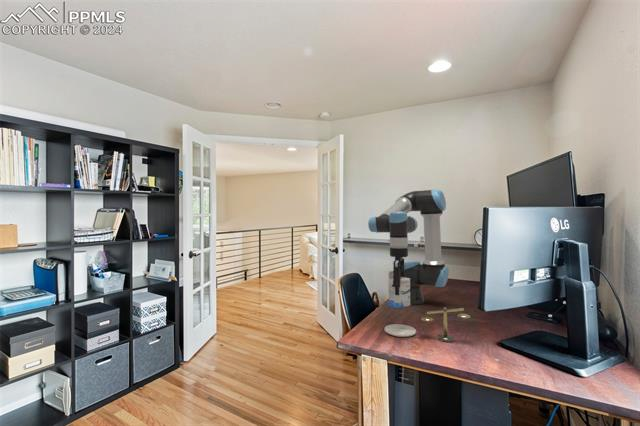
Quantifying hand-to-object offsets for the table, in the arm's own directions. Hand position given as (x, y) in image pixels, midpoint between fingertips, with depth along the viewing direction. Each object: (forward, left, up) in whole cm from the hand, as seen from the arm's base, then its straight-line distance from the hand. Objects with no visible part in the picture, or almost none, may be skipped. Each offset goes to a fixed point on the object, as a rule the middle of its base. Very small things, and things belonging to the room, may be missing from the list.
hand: (399, 299), depth 129 cm
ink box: (0, 0, -3) cm, 3 cm away
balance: (+1, +18, -14) cm, 23 cm away
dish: (0, 0, -14) cm, 14 cm away
